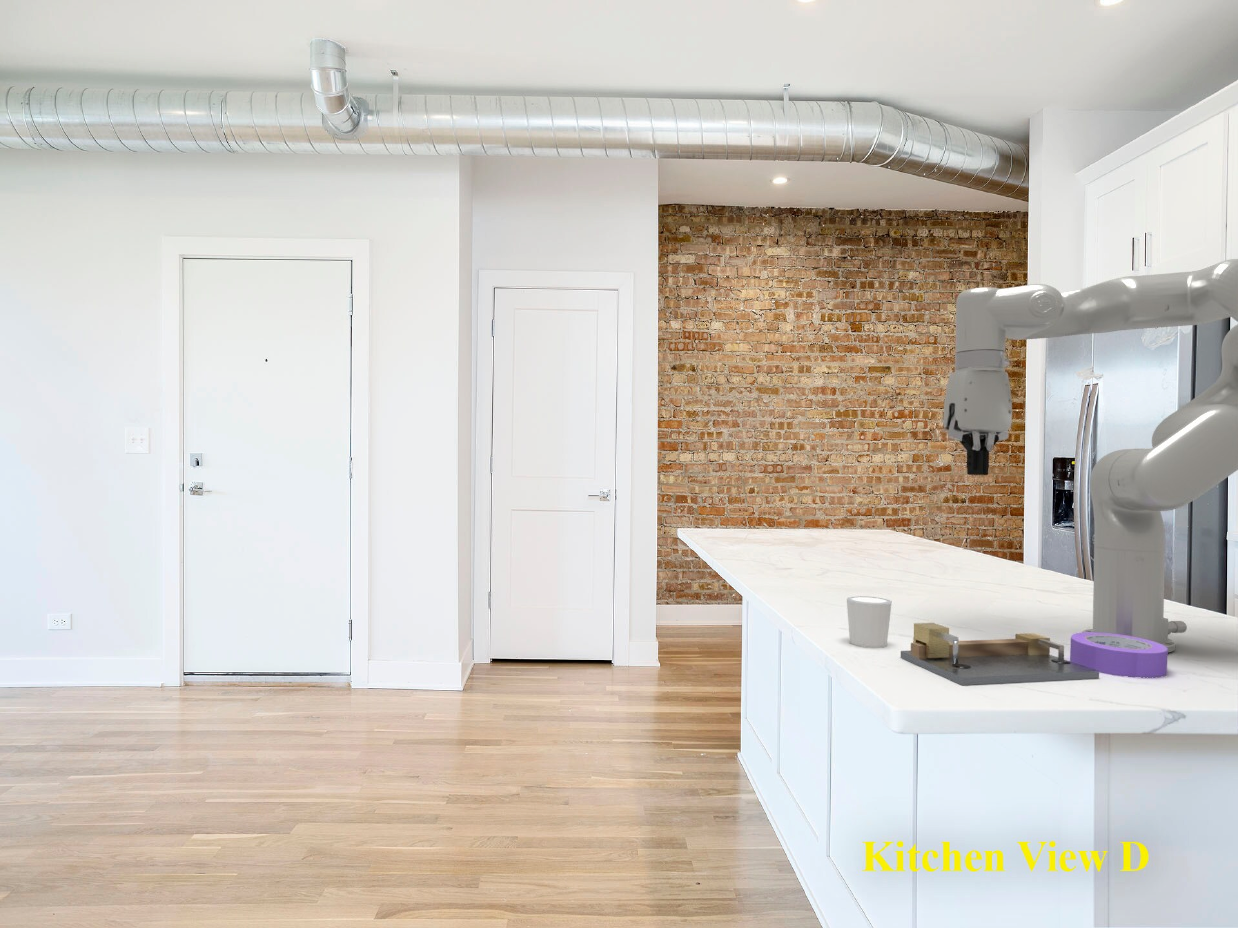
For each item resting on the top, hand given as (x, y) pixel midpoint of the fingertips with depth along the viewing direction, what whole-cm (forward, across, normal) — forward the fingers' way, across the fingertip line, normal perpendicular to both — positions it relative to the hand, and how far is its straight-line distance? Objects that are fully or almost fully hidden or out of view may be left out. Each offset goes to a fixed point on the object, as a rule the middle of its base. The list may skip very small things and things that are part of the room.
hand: (977, 474), depth 126 cm
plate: (+27, +10, +17) cm, 33 cm away
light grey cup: (+27, +20, +1) cm, 34 cm away
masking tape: (+28, -9, +19) cm, 35 cm away
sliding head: (+26, +17, +15) cm, 35 cm away
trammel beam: (+26, +9, +16) cm, 32 cm away
